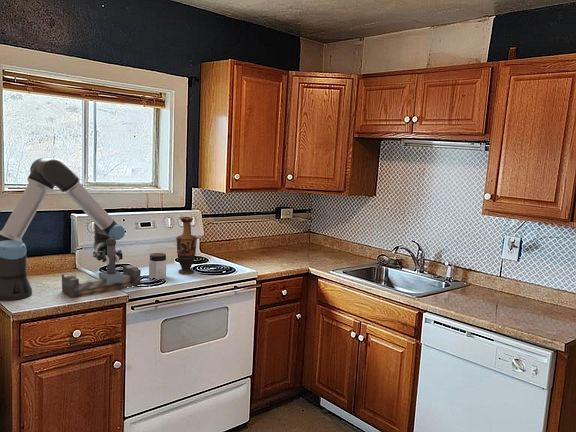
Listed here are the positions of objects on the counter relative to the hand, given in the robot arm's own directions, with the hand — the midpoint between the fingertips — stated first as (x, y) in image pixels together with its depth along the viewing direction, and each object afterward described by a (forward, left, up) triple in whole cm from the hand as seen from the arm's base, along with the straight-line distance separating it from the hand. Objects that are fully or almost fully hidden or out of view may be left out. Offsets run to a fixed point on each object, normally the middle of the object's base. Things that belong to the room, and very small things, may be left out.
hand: (113, 260), depth 224 cm
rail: (-6, +2, -14) cm, 15 cm away
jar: (+13, +26, -14) cm, 32 cm away
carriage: (-3, +5, -11) cm, 12 cm away
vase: (+25, +38, -14) cm, 47 cm away
